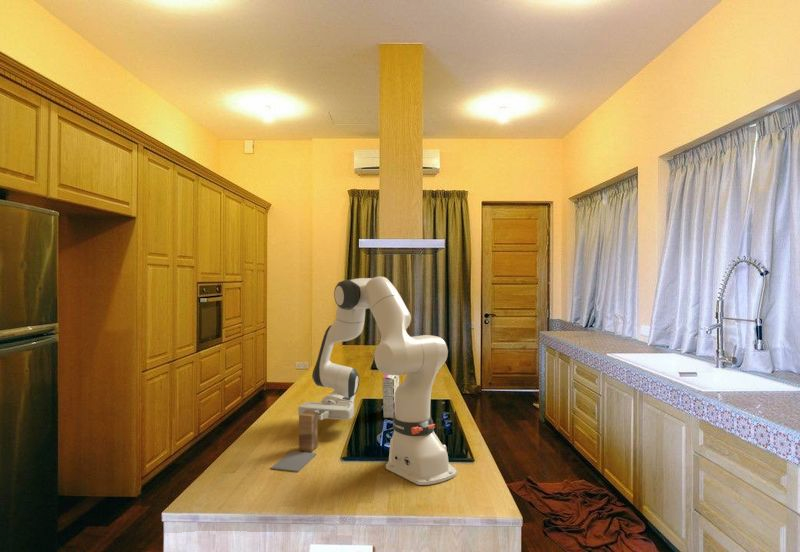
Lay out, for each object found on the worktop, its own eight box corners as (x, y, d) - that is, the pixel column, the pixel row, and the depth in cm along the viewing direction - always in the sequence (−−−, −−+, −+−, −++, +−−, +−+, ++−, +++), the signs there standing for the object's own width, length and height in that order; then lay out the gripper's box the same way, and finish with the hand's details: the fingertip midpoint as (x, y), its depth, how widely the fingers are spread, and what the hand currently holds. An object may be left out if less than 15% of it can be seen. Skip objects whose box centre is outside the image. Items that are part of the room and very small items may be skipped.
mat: (298, 472, 132) (298, 470, 132) (270, 469, 134) (270, 467, 134) (316, 454, 144) (316, 453, 144) (291, 452, 146) (291, 450, 146)
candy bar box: (388, 409, 191) (388, 371, 191) (399, 410, 190) (399, 372, 190) (382, 418, 180) (382, 377, 180) (394, 418, 179) (394, 378, 179)
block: (311, 452, 146) (311, 416, 146) (299, 451, 147) (299, 415, 147) (317, 447, 151) (317, 411, 150) (305, 445, 152) (305, 410, 152)
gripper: (307, 396, 171) (289, 406, 158) (357, 399, 166) (344, 410, 153) (307, 412, 171) (290, 424, 158) (357, 416, 166) (344, 428, 153)
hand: (317, 417), depth 155 cm, fingers closed
